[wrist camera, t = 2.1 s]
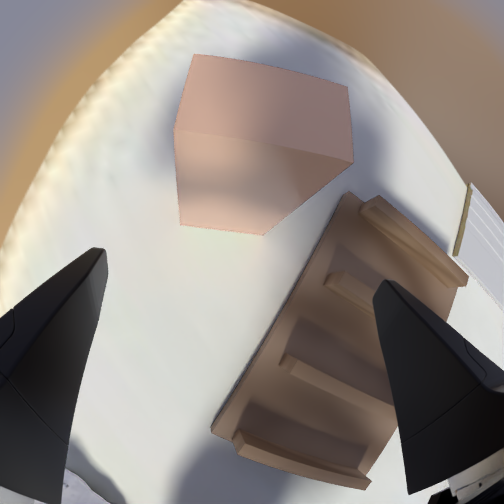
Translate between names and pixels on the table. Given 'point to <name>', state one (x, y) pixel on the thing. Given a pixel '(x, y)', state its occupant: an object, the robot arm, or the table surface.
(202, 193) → the pinkish tan block
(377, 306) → the robot arm
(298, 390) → the drying rack
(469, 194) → the baseboard molding
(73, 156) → the table surface
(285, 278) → the table surface
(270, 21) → the table surface
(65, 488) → the baby figurine
